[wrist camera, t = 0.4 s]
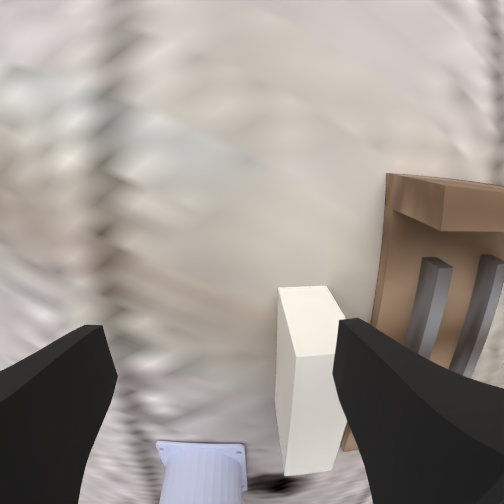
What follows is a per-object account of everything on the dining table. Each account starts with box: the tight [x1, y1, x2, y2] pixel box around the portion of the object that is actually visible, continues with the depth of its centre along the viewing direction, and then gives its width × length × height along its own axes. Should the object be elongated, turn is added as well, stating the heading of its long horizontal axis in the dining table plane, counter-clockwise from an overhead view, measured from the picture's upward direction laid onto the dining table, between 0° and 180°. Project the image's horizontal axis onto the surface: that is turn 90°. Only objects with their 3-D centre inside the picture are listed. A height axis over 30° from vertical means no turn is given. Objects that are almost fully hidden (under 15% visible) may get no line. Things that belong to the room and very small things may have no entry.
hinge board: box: [341, 173, 504, 452], centre depth 18 cm, size 24×12×6 cm, turn 1°
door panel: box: [275, 286, 347, 476], centre depth 17 cm, size 10×4×7 cm, turn 1°
